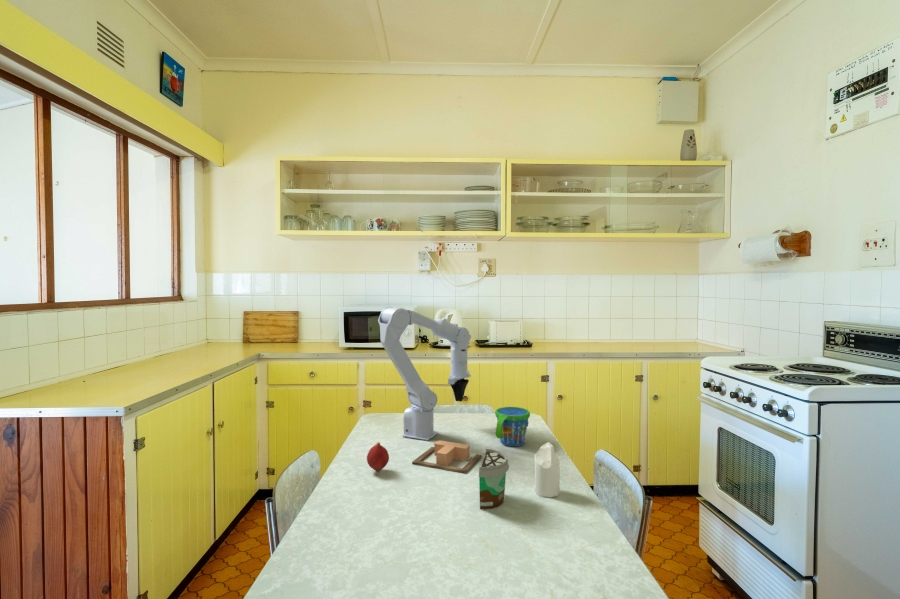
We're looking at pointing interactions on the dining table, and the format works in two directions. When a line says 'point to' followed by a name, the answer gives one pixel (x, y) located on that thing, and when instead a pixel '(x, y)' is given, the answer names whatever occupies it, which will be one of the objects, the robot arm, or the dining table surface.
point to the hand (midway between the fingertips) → (459, 400)
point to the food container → (492, 479)
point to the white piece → (547, 471)
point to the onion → (377, 457)
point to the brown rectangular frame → (445, 467)
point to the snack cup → (512, 425)
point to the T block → (450, 452)
